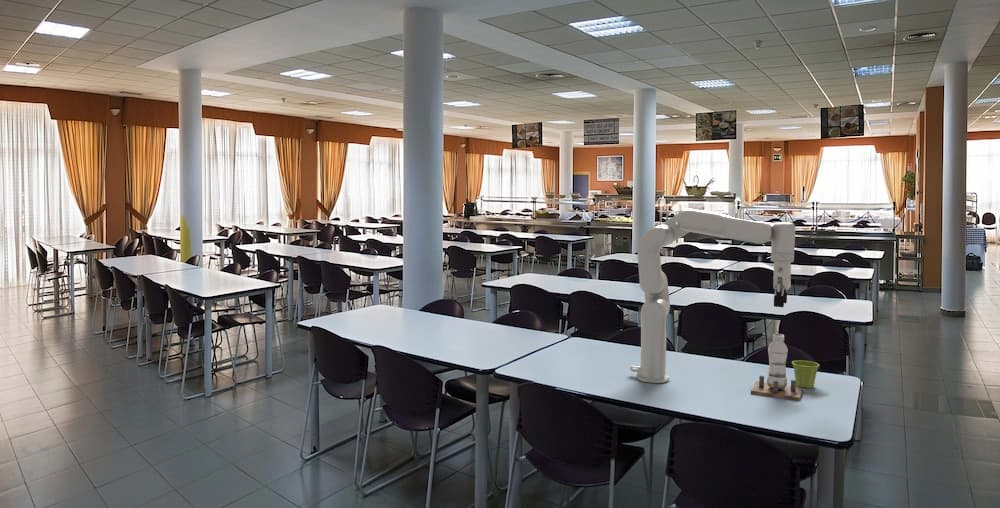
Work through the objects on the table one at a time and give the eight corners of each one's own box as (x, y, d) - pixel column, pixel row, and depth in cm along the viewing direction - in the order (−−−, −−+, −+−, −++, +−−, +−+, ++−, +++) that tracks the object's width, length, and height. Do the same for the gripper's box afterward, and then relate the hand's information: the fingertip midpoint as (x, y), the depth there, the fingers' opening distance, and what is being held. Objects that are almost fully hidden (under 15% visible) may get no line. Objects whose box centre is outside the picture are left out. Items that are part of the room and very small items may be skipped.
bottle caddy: (750, 393, 228) (751, 379, 228) (756, 384, 239) (756, 371, 239) (799, 400, 220) (800, 386, 220) (802, 391, 231) (803, 377, 231)
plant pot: (785, 383, 241) (786, 361, 240) (804, 381, 244) (805, 359, 243) (804, 390, 232) (806, 367, 231) (824, 388, 235) (825, 365, 234)
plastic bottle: (788, 392, 226) (790, 337, 224) (768, 390, 228) (770, 336, 226) (784, 386, 232) (786, 333, 231) (764, 385, 234) (766, 332, 232)
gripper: (791, 259, 216) (789, 309, 218) (796, 256, 231) (794, 302, 233) (767, 258, 220) (765, 307, 221) (774, 255, 235) (772, 300, 236)
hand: (780, 304), depth 227 cm, fingers open, 9 cm apart
